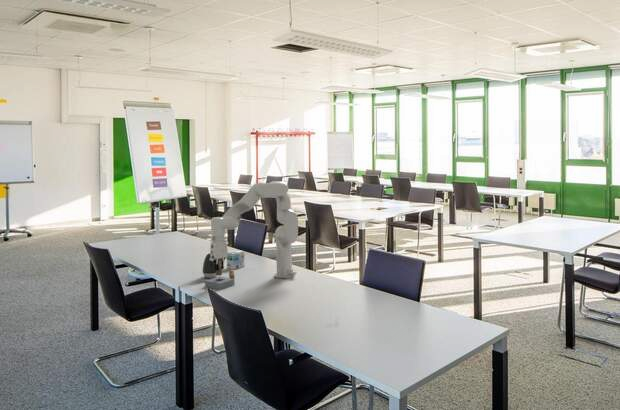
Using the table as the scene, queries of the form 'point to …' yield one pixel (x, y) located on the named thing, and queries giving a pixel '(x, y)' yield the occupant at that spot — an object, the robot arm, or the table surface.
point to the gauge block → (219, 283)
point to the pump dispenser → (208, 267)
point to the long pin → (219, 267)
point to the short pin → (231, 274)
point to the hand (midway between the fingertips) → (218, 269)
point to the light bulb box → (235, 259)
